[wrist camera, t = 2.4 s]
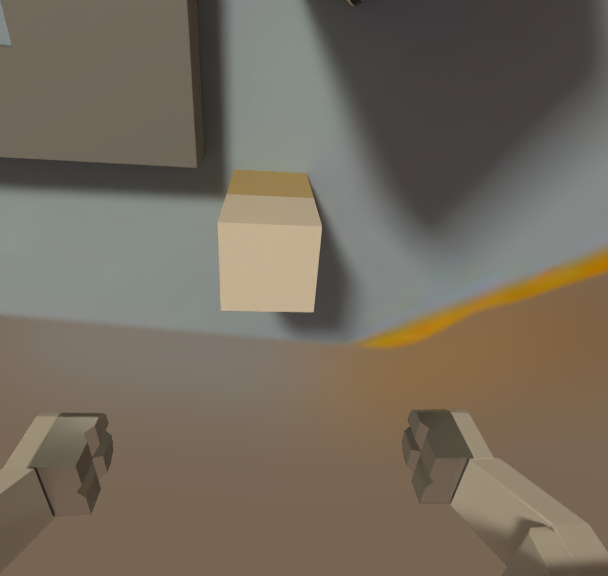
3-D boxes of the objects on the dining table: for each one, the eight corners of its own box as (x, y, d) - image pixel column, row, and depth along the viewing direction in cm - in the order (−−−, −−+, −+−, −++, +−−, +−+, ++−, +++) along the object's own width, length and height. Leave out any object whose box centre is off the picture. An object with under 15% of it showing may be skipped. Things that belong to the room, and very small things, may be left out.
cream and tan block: (306, 173, 25) (322, 226, 18) (301, 239, 28) (313, 312, 20) (234, 169, 25) (217, 222, 17) (235, 236, 27) (221, 310, 20)
